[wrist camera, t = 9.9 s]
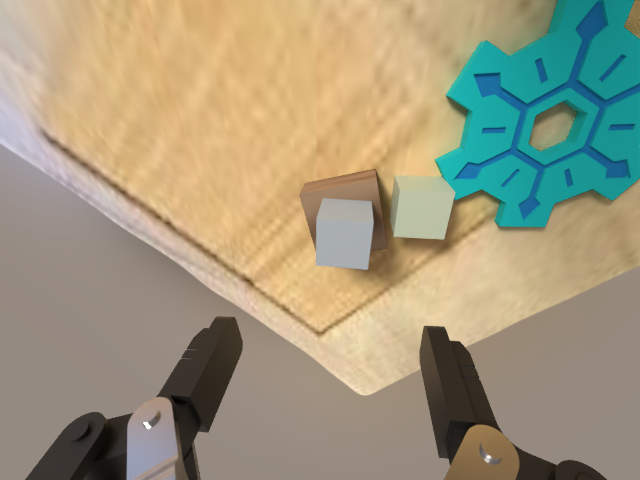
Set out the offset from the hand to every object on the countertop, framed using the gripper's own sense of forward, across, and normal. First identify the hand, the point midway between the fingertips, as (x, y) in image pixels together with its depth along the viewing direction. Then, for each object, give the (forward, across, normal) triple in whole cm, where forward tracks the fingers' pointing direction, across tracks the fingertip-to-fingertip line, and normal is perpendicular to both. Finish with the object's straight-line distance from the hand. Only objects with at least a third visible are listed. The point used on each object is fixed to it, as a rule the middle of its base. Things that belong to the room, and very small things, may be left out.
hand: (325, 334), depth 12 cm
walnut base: (+23, 0, +4) cm, 23 cm away
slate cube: (+19, 0, +4) cm, 19 cm away
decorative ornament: (+23, -19, -4) cm, 30 cm away
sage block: (+20, -10, +3) cm, 23 cm away
